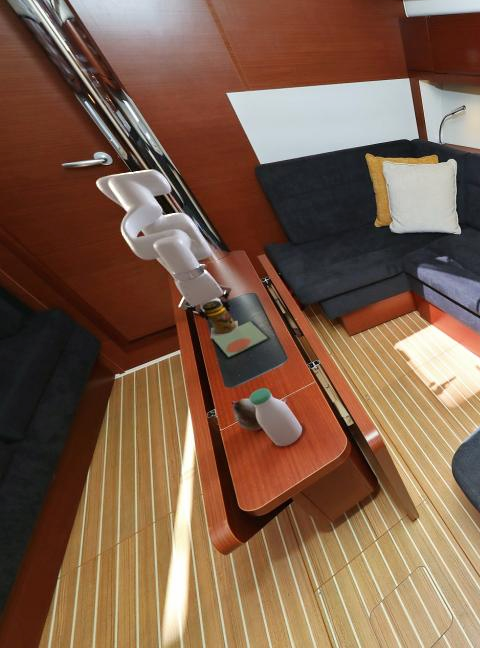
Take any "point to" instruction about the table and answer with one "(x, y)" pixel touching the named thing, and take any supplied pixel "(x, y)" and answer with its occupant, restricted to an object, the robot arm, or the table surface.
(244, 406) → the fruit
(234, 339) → the placemat
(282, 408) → the milk bottle
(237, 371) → the table surface
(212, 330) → the condiment
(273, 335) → the table surface
